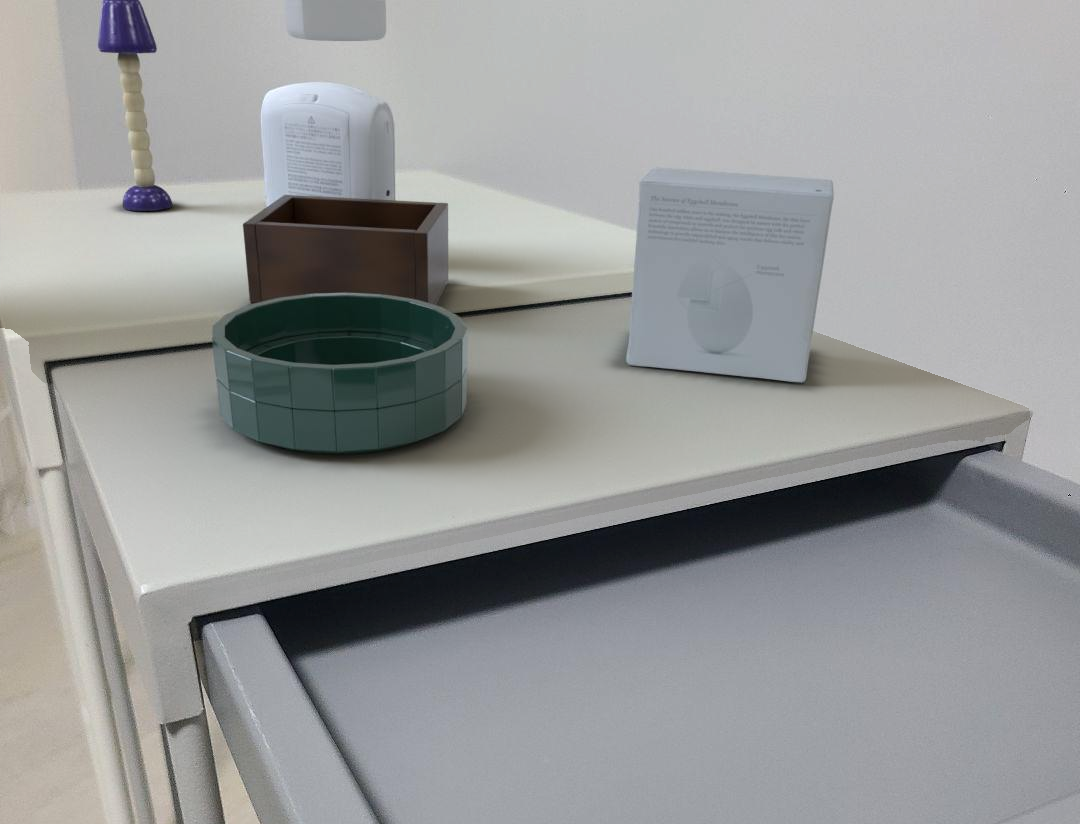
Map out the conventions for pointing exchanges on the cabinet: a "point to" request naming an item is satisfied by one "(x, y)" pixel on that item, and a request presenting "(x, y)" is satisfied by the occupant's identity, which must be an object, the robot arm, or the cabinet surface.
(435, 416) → the bowl
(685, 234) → the cosmetics box
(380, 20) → the eye dropper bottle
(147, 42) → the toy lamp
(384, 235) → the holder
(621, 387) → the cabinet surface
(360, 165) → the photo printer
